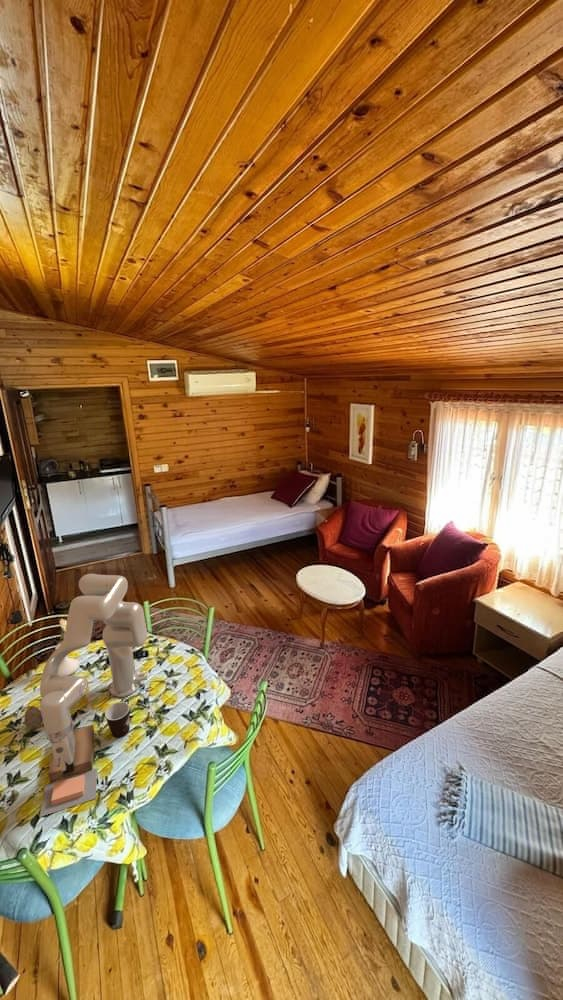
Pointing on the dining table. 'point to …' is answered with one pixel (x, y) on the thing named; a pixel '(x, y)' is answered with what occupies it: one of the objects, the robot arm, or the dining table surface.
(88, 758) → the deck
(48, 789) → the mat
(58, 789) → the salmon orange flat block
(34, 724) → the decorative egg
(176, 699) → the dining table surface
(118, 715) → the coffee mug
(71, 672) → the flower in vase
